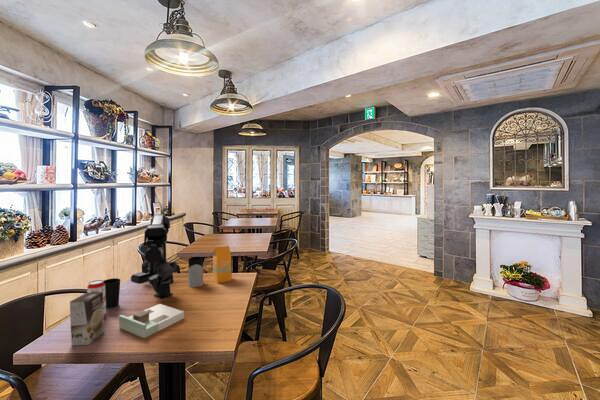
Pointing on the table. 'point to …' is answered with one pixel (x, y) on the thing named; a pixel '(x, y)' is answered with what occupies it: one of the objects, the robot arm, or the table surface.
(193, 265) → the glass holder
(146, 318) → the block
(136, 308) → the table surface
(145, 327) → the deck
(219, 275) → the orange juice
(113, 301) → the cup
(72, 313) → the coffee box
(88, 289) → the beer can
